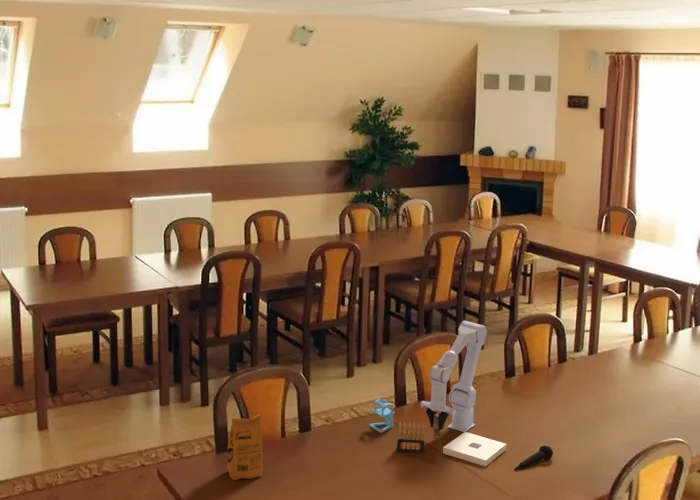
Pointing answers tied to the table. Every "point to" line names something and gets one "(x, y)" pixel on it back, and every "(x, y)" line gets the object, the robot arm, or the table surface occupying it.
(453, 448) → the cream board
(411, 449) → the ammunition clip
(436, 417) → the walnut peg
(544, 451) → the microphone
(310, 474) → the table surface
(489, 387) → the table surface
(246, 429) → the coffee package
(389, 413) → the light blue bar frame
